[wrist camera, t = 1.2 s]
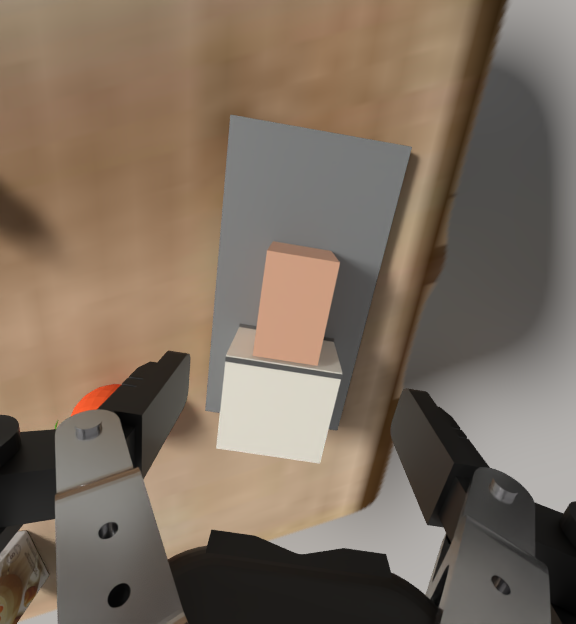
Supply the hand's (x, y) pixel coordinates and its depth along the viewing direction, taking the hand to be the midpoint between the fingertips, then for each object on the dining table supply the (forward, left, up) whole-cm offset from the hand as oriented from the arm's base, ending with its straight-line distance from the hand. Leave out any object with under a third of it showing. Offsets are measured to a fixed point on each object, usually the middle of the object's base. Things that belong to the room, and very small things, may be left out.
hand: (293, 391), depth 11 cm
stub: (+1, 0, -17) cm, 17 cm away
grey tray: (+1, 0, -18) cm, 18 cm away
